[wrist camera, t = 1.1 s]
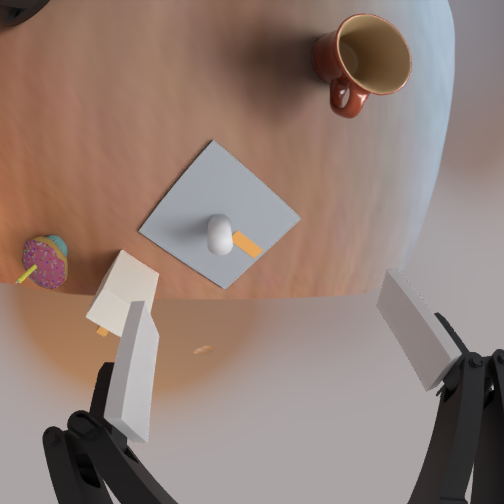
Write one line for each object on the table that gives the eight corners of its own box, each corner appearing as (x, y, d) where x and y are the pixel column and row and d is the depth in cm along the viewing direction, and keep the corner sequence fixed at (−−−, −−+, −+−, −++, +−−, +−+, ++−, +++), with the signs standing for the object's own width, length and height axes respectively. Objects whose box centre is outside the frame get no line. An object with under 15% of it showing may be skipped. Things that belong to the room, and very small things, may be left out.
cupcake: (30, 226, 32) (-9, 269, 22) (69, 221, 33) (30, 267, 23) (46, 270, 37) (16, 318, 27) (84, 269, 38) (56, 321, 28)
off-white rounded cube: (121, 249, 37) (103, 287, 30) (159, 274, 40) (149, 315, 33) (95, 290, 40) (78, 328, 33) (129, 311, 43) (118, 351, 36)
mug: (313, 20, 24) (348, -2, 15) (371, 49, 26) (419, 43, 17) (285, 99, 29) (313, 101, 21) (346, 123, 31) (389, 137, 23)
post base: (139, 229, 36) (128, 252, 31) (213, 139, 31) (212, 148, 26) (225, 287, 43) (227, 314, 38) (300, 217, 38) (313, 237, 33)
